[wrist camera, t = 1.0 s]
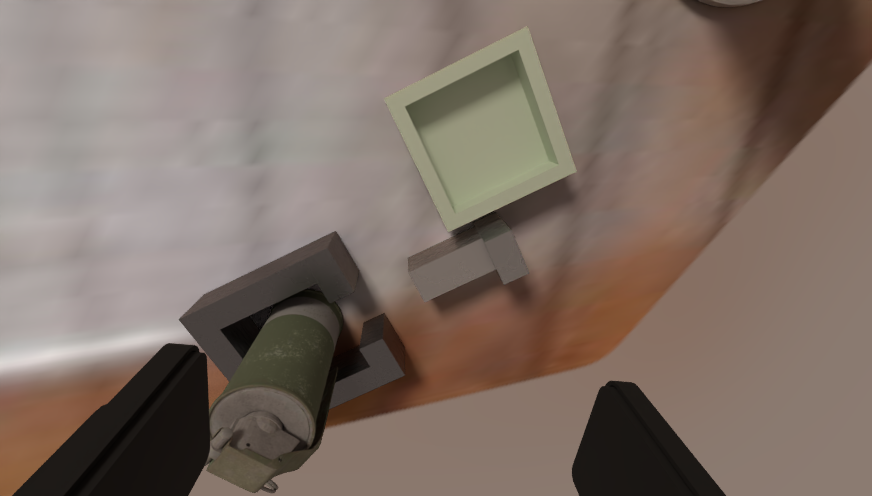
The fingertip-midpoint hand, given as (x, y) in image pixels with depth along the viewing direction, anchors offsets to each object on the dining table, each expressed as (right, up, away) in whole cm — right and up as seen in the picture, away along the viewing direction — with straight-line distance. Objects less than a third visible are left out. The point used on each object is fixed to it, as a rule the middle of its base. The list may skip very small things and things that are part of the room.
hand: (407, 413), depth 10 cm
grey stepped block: (+3, +4, +24) cm, 24 cm away
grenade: (-10, -2, +25) cm, 27 cm away
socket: (-10, -2, +25) cm, 27 cm away
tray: (+4, +13, +21) cm, 24 cm away
